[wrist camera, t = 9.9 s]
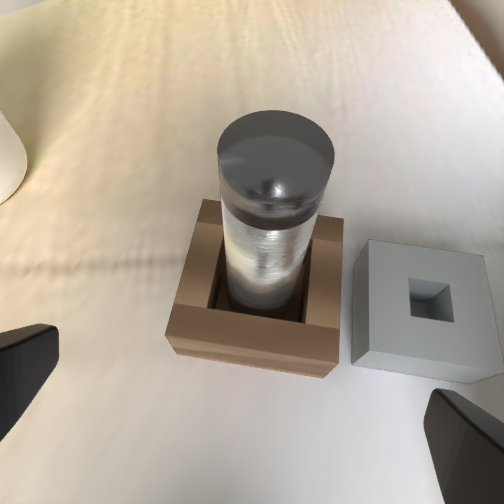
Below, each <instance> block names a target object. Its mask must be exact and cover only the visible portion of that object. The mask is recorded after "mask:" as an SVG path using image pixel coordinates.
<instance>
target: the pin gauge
mask: <svg viewBox="0 0 504 504" xmlns="http://www.w3.org/2000/svg"><path fill="white" fill-rule="evenodd" d="M217 153H218V166H219V178H220V191H221V203H222V216H223V228H224V241H225V253H226V266H227V278H228V291H229V302H230V306H231V308H232V310H233V312H235V313H241V314H247V315H254V316H260V317H266V318H273V319H279V320H280V319H281V318H282V317H283V316H284V315H285V313H286V312H287V310H288V307H289V304H290V301H291V298H292V295H293V291H294V288H295V285H296V282H297V279H298V276H299V272H300V269H301V266H302V263H303V260H304V256H305V253H306V250H307V247H308V244H309V240H310V237H311V234H312V231H313V228H314V225H315V221H316V218H317V215H318V212H319V209H320V205H321V202H322V199H323V196H324V193H325V189H326V186H327V183H328V180H329V177H330V174H331V170H332V167H333V164H334V155H335V153H334V148H333V145H332V142H331V140H330V138H329V137H328V135H327V134H326V132H325V131H324V130H323V129H322V128H321V127H320V126H318V125H317V124H316V123H314V122H313V121H311V120H309V119H307V118H306V117H303V116H301V115H298V114H295V113H291V112H286V111H278V110H268V111H259V112H254V113H251V114H248V115H245V116H243V117H241V118H239V119H237V120H236V121H234V122H233V123H231V124H230V125H229V126H228V127H227V128H226V129H225V130H224V132H223V133H222V135H221V137H220V139H219V143H218V149H217Z"/></svg>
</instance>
